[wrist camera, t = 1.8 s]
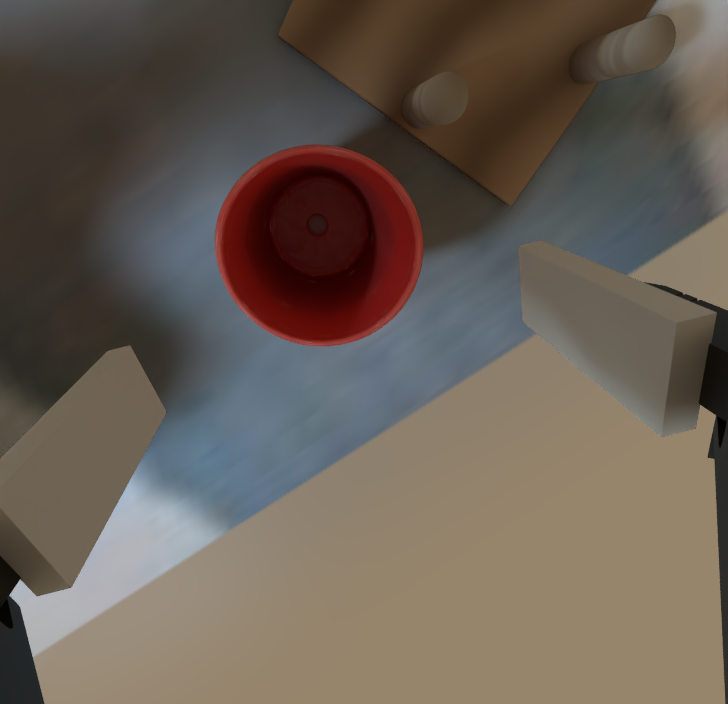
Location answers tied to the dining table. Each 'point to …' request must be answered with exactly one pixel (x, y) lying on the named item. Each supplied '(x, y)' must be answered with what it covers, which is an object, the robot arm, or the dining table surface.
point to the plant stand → (480, 69)
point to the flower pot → (319, 245)
